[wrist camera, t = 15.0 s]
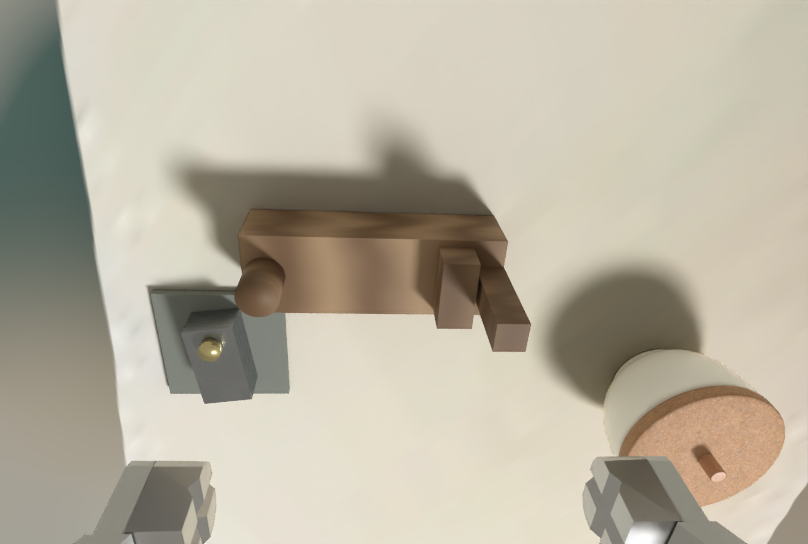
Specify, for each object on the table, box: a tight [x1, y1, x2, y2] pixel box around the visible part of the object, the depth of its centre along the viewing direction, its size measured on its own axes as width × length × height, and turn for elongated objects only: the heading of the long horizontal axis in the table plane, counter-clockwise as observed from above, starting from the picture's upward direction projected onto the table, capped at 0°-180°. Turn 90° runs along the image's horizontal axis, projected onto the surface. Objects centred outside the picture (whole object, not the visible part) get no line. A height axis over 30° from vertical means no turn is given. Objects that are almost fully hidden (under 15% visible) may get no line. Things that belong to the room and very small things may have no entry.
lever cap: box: [181, 308, 258, 404], centre depth 42 cm, size 7×4×4 cm, turn 4°
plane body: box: [234, 209, 531, 352], centre depth 36 cm, size 18×6×12 cm, turn 87°
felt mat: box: [151, 290, 290, 394], centre depth 44 cm, size 10×10×1 cm
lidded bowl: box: [603, 349, 785, 507], centre depth 45 cm, size 13×13×11 cm
